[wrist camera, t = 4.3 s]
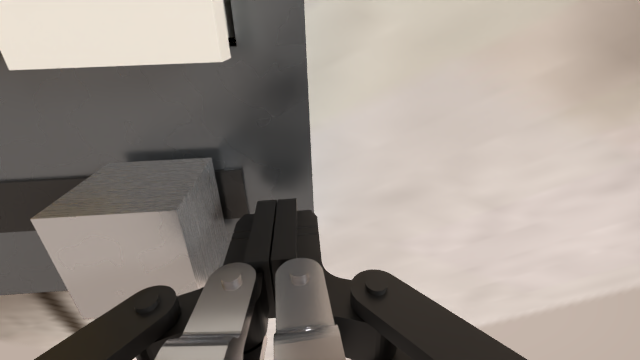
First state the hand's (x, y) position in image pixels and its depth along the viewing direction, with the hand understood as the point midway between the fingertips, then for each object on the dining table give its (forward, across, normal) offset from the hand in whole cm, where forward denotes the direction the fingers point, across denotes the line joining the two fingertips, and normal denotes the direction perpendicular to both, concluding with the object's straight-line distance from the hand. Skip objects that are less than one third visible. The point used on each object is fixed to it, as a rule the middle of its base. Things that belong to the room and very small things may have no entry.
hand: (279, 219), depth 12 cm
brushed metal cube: (+1, +5, 0) cm, 5 cm away
